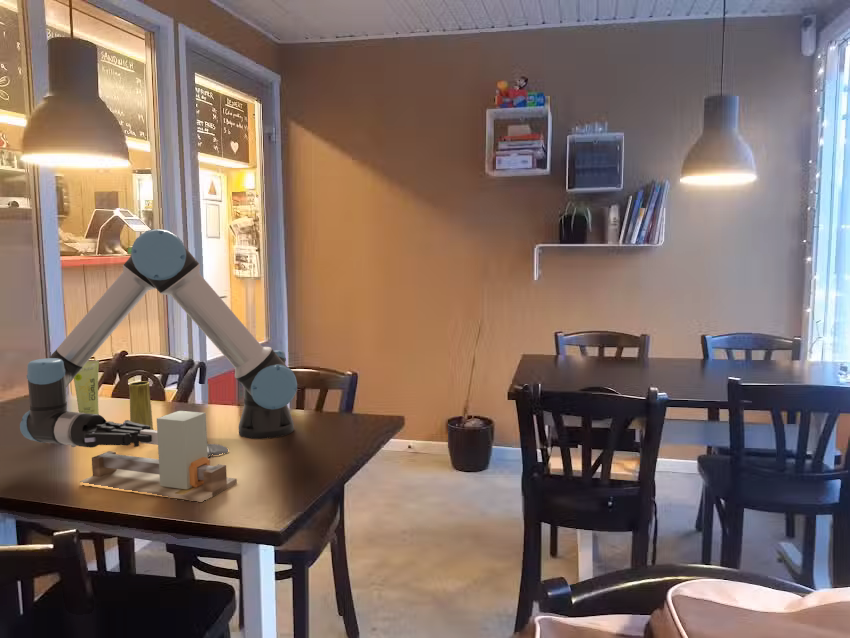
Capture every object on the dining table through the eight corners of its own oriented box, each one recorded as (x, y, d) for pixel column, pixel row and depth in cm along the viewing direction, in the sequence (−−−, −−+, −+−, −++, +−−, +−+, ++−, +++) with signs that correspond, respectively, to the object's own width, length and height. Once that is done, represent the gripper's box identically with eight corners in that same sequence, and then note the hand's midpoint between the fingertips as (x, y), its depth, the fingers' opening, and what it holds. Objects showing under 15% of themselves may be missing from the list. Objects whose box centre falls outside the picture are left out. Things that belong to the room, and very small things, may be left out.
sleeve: (160, 485, 140) (156, 418, 138) (182, 475, 146) (179, 410, 145) (192, 490, 137) (188, 421, 135) (213, 479, 144) (210, 413, 142)
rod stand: (80, 485, 144) (78, 462, 143) (121, 468, 155) (120, 446, 155) (201, 503, 133) (200, 477, 133) (236, 483, 145) (235, 459, 144)
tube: (85, 430, 188) (80, 363, 185) (74, 428, 190) (69, 362, 188) (103, 425, 192) (99, 360, 190) (92, 423, 195) (88, 359, 193)
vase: (137, 437, 181) (134, 386, 179) (125, 433, 184) (123, 383, 183) (158, 432, 186) (155, 382, 184) (146, 428, 189) (143, 380, 188)
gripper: (105, 437, 156) (187, 446, 149) (59, 454, 144) (145, 464, 137) (103, 407, 156) (185, 414, 148) (56, 420, 143) (143, 429, 136)
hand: (166, 438), depth 142 cm, fingers closed
